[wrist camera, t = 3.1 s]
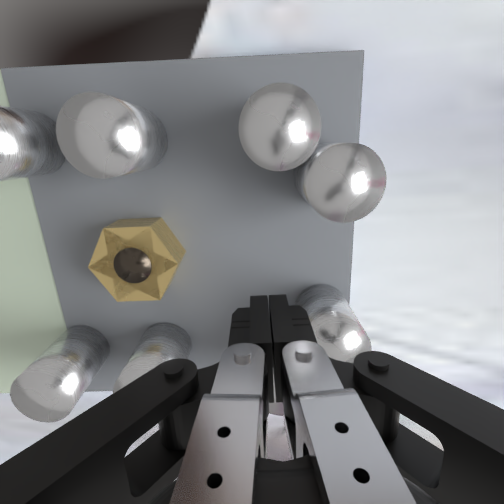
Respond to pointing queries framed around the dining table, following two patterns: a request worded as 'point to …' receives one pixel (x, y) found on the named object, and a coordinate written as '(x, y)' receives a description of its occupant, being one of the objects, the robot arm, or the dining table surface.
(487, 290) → the dining table surface
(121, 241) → the nut
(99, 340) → the spacers
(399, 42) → the dining table surface
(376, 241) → the dining table surface
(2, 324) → the board
